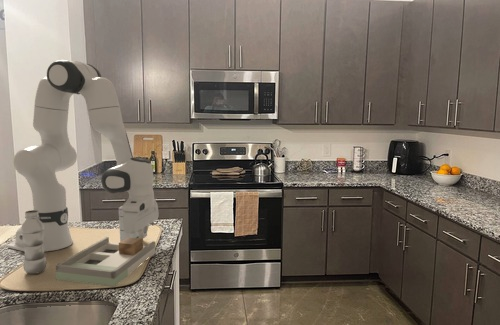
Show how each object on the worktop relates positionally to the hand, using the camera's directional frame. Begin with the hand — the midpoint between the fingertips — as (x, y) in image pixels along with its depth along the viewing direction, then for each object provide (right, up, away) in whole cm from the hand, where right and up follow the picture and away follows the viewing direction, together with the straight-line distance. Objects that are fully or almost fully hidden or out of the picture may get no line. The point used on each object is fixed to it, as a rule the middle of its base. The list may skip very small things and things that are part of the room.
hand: (143, 237), depth 139 cm
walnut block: (-2, -4, -7) cm, 8 cm away
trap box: (-7, -7, -13) cm, 16 cm away
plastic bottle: (-29, -7, -19) cm, 36 cm away
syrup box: (-8, -4, +11) cm, 14 cm away
